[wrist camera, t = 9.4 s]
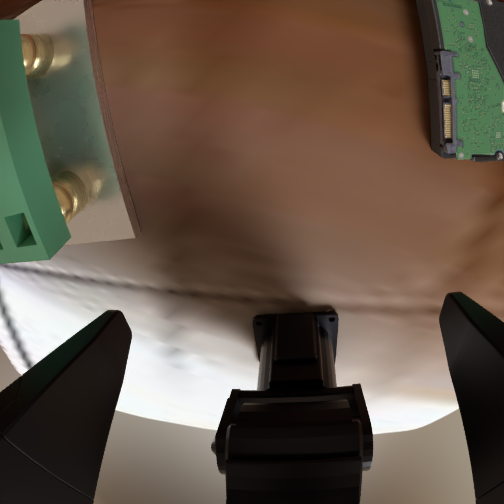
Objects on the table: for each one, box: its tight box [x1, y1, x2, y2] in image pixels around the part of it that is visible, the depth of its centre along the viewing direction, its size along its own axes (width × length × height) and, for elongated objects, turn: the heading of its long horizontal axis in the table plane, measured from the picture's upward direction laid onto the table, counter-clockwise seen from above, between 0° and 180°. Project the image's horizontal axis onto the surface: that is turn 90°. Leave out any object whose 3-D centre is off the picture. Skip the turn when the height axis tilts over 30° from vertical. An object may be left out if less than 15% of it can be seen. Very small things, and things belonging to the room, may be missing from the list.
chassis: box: [13, 0, 141, 245], centre depth 15 cm, size 18×12×6 cm, turn 7°
